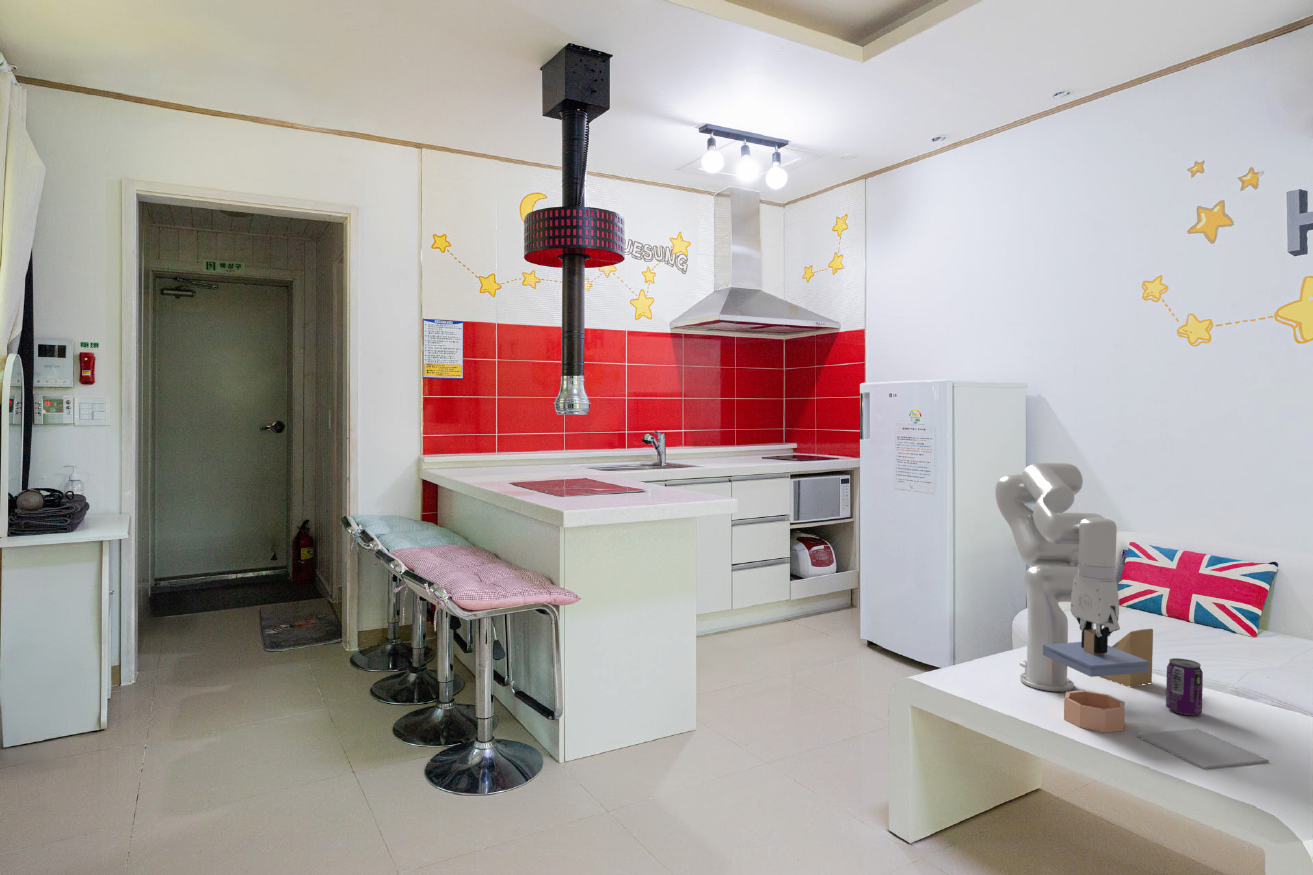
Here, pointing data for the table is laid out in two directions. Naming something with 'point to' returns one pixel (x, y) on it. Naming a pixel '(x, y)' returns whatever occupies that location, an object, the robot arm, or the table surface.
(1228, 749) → the mat
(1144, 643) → the sandwich container
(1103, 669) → the cover
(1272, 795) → the table surface
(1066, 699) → the bowl
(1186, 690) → the beverage can
